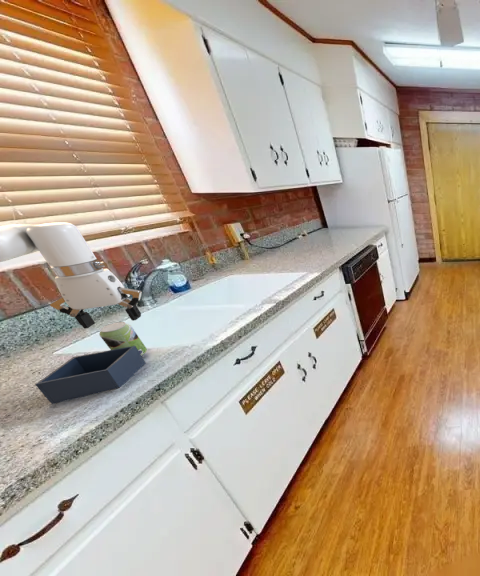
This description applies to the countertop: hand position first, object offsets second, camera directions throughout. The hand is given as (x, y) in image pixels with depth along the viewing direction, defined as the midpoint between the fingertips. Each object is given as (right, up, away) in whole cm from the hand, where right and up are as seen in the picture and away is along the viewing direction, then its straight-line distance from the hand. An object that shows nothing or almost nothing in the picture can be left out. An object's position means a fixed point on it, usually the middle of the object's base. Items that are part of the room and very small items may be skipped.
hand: (113, 322), depth 87 cm
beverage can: (0, -12, +5) cm, 13 cm away
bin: (+4, -16, -5) cm, 18 cm away
